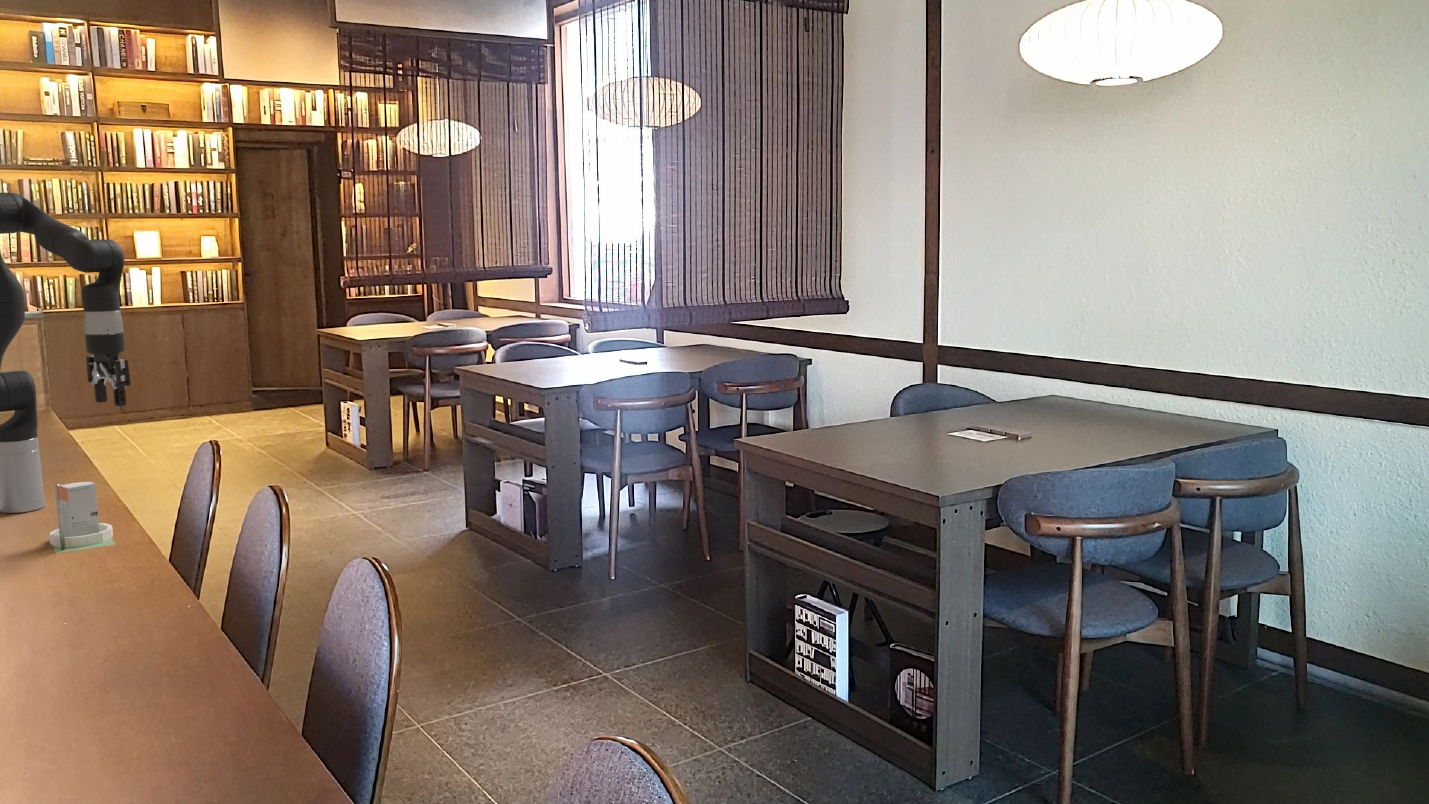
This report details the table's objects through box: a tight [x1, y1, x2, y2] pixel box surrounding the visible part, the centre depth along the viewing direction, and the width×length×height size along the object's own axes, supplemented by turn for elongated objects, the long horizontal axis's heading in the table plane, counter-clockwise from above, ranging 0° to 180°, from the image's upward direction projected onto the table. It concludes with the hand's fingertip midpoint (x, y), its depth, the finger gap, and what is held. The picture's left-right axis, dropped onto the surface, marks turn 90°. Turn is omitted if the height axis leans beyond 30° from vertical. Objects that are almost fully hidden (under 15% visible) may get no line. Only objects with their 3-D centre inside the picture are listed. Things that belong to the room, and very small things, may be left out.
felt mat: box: [52, 537, 116, 554], centre depth 238 cm, size 18×11×1 cm, turn 34°
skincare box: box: [59, 480, 100, 537], centre depth 238 cm, size 6×4×12 cm
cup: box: [48, 522, 114, 547], centre depth 238 cm, size 12×12×2 cm
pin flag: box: [53, 483, 69, 550], centre depth 228 cm, size 5×1×14 cm, turn 54°
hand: (111, 403), depth 246 cm, fingers open, 8 cm apart
